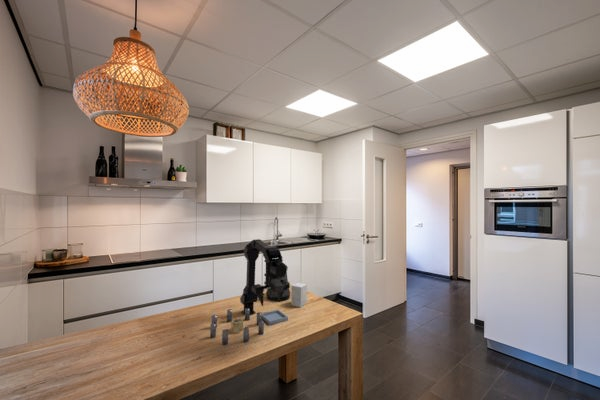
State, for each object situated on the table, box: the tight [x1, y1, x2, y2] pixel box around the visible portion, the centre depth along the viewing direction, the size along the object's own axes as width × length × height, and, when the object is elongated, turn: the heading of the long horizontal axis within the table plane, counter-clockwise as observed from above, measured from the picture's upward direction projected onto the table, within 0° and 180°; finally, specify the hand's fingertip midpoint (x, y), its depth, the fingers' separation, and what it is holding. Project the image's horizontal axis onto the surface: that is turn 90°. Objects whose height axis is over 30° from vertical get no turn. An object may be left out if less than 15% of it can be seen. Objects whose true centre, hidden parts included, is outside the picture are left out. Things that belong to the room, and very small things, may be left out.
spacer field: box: [209, 308, 265, 346], centre depth 135 cm, size 27×27×6 cm
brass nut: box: [230, 318, 244, 334], centre depth 135 cm, size 6×5×5 cm
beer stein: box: [265, 262, 291, 303], centre depth 182 cm, size 16×19×25 cm
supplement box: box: [290, 282, 308, 308], centre depth 169 cm, size 7×7×13 cm
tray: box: [261, 309, 289, 326], centre depth 148 cm, size 11×11×2 cm
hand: (270, 303), depth 132 cm, fingers open, 9 cm apart
